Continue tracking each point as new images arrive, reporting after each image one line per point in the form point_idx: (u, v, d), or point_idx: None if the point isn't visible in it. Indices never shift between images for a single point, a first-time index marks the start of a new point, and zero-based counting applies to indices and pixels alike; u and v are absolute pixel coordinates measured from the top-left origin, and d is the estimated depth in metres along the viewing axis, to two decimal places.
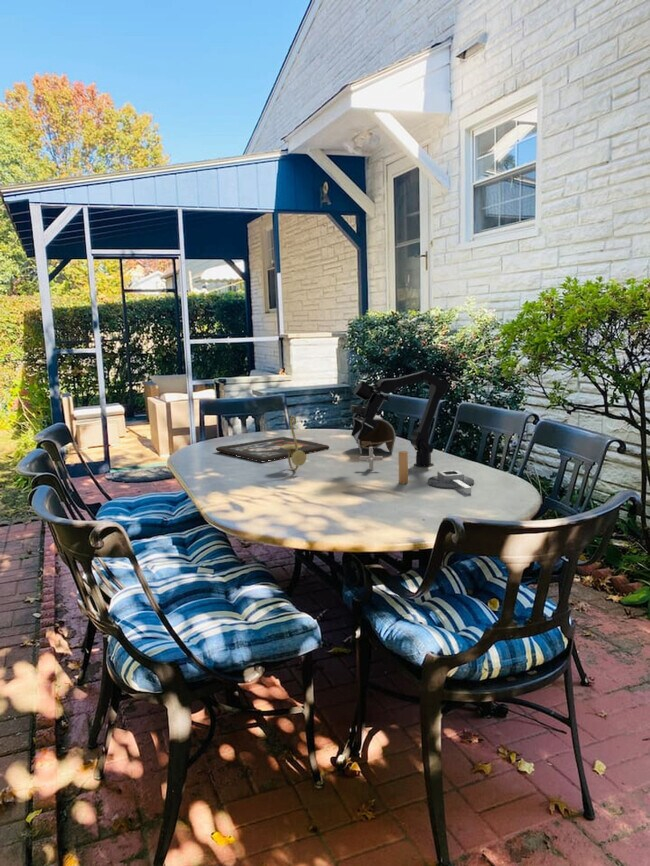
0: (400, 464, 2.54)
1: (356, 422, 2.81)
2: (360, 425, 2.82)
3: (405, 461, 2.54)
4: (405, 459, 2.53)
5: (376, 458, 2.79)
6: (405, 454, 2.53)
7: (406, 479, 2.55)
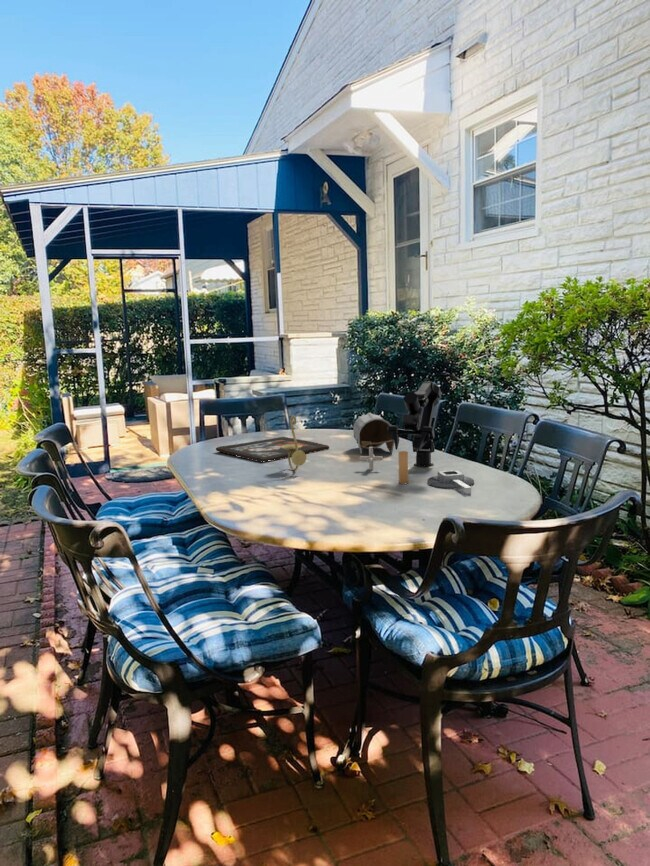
0: (400, 464, 2.54)
1: (397, 435, 2.64)
2: (398, 439, 2.66)
3: (405, 461, 2.54)
4: (405, 459, 2.53)
5: (376, 458, 2.79)
6: (405, 454, 2.53)
7: (406, 479, 2.55)
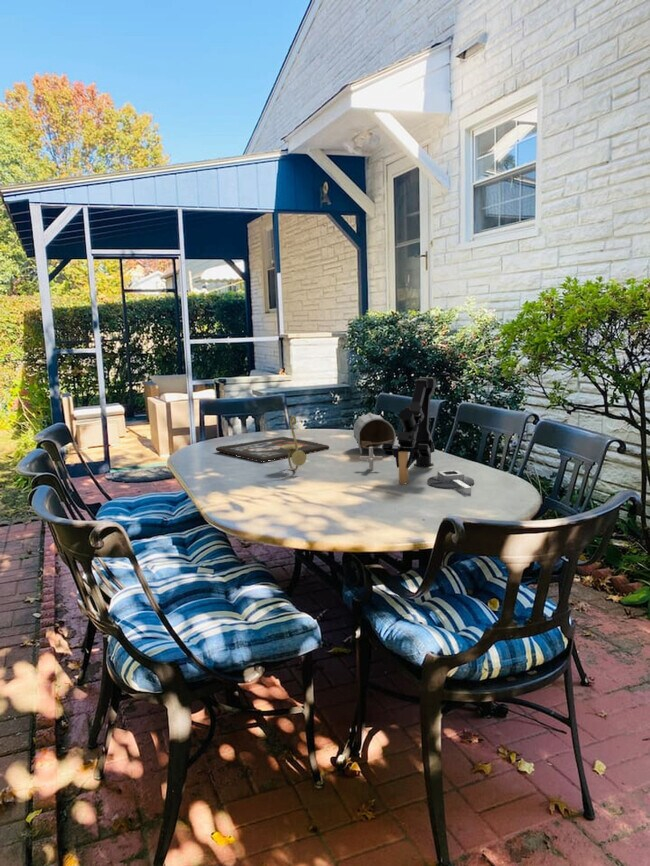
0: (400, 464, 2.54)
1: (398, 453, 2.57)
2: None
3: (405, 461, 2.54)
4: (405, 459, 2.53)
5: (376, 458, 2.79)
6: (405, 454, 2.53)
7: (406, 479, 2.55)
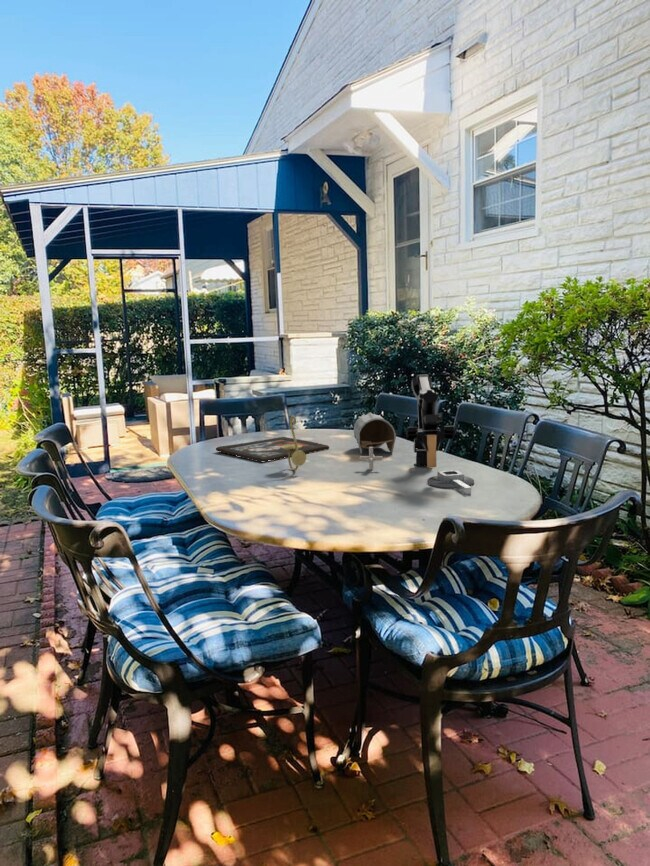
0: (430, 447, 2.50)
1: (425, 436, 2.53)
2: None
3: (435, 444, 2.50)
4: (435, 442, 2.50)
5: (376, 458, 2.79)
6: (435, 437, 2.50)
7: (435, 462, 2.52)
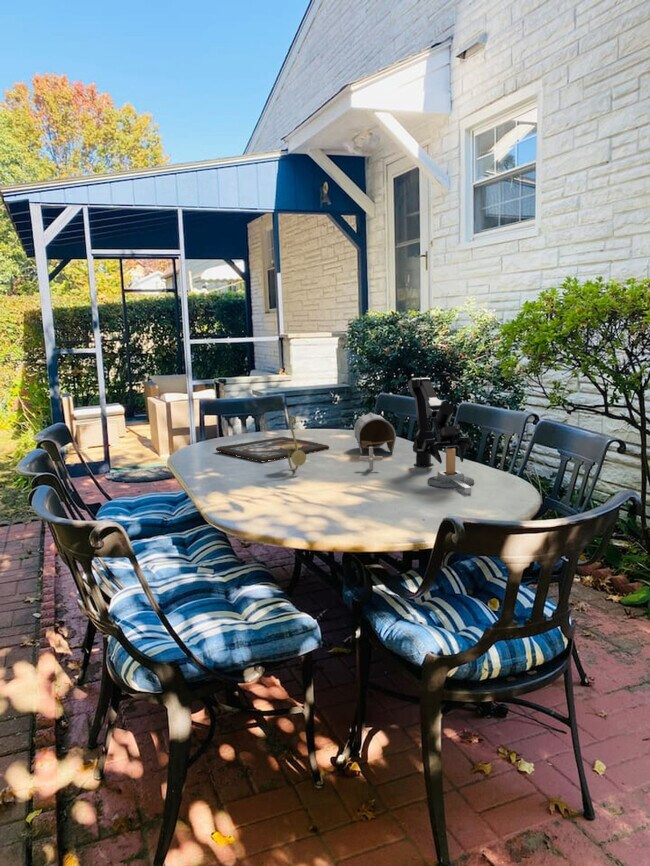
0: (450, 461, 2.51)
1: None
2: None
3: (454, 458, 2.52)
4: (454, 456, 2.52)
5: (376, 458, 2.79)
6: None
7: None
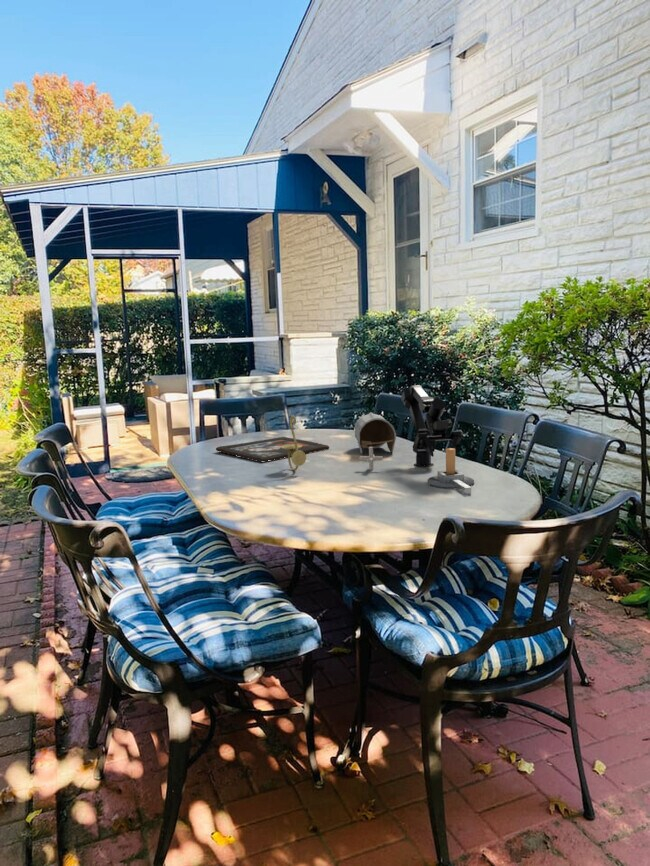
0: (450, 461, 2.51)
1: None
2: None
3: (454, 458, 2.52)
4: (454, 456, 2.52)
5: (376, 458, 2.79)
6: (454, 451, 2.51)
7: None
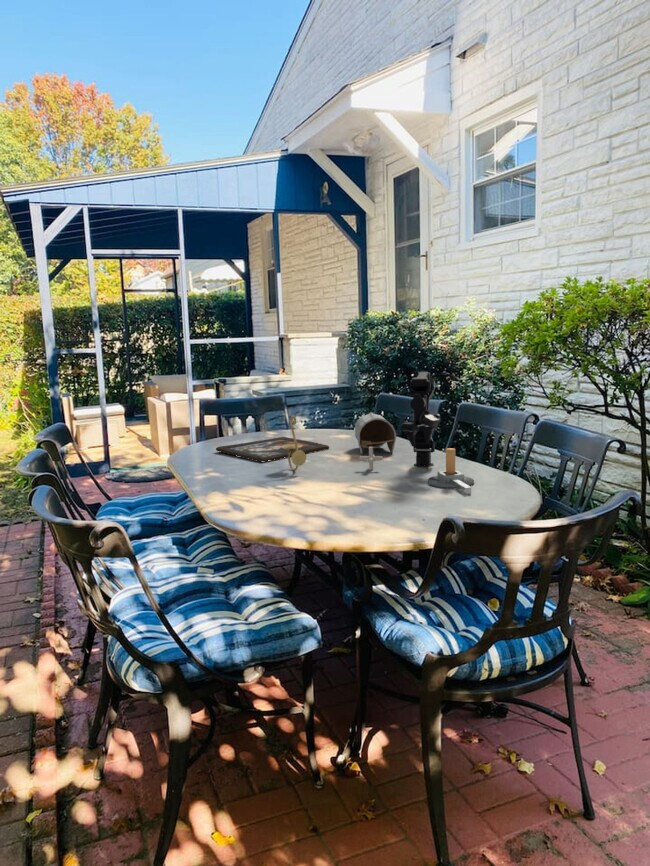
0: (450, 461, 2.51)
1: None
2: None
3: (454, 458, 2.52)
4: (454, 456, 2.52)
5: (376, 458, 2.79)
6: (454, 451, 2.51)
7: None
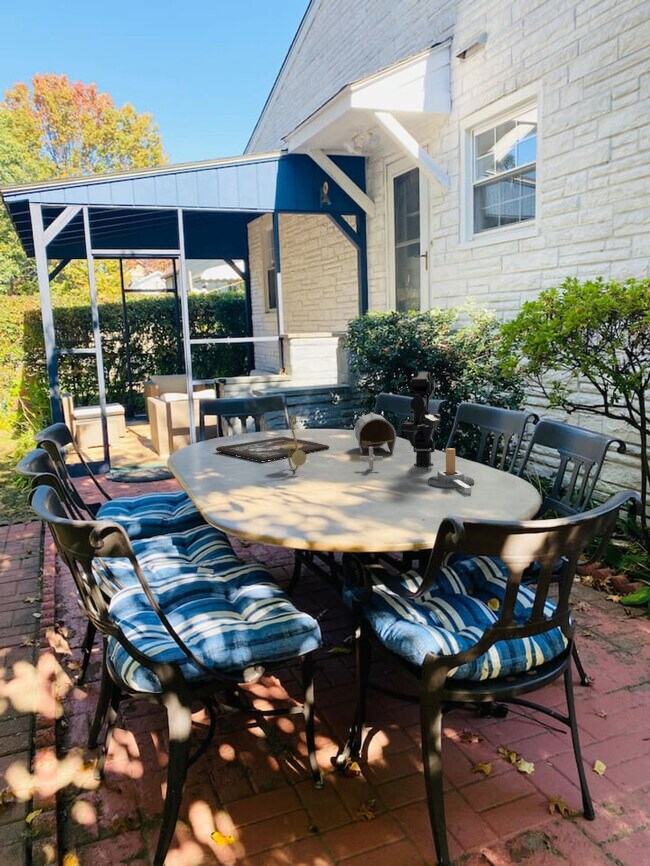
0: (450, 461, 2.51)
1: None
2: None
3: (454, 458, 2.52)
4: (454, 456, 2.52)
5: (376, 458, 2.79)
6: (454, 451, 2.51)
7: None
